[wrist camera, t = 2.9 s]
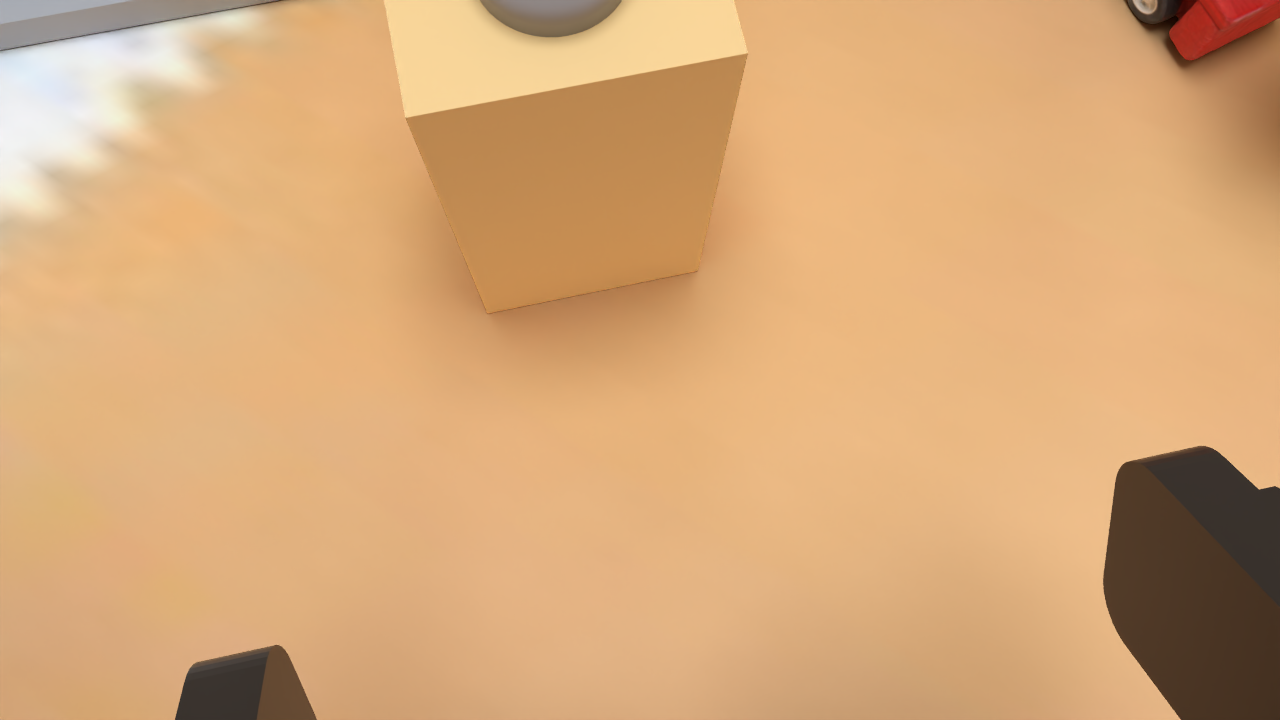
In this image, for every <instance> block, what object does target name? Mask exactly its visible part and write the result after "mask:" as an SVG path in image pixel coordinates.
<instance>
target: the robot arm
mask: <svg viewBox="0 0 1280 720" xmlns="http://www.w3.org/2000/svg"><path fill="white" fill-rule="evenodd" d="M1103 585H1104V594H1105V600H1106V604H1107V608H1108V611H1109V614H1110V617H1111V619H1112V622H1113V624H1114V626H1115V628H1116V631H1117V632H1118V634H1119V636H1120V638H1121V639H1122V641H1123V642H1124V644H1125V645H1126V647H1127V648H1128V649H1129V651H1130V652H1131V653H1132V655H1133V656H1134V657H1135V659H1136V660H1137V661H1138V663H1139V664H1140V665H1141V667H1142V668H1143V669H1144V671H1145V672H1146V673H1147V675H1148V676H1149V677H1150V679H1151V680H1152V681H1153V683H1154V684H1155V685H1156V687H1157V688H1158V689H1159V691H1160V692H1161V693H1162V695H1163V696H1164V698H1165V699H1166V700H1167V702H1168V703H1169V704H1170V706H1171V707H1172V708H1173V710H1174V711H1175V712H1176V714H1177V715H1178V716H1179V718H1180V719H1181V720H1280V488H1278V487H1276V486H1274V487H1269V488H1265V489H1260V490H1259V489H1258V488H1257V487H1255V486H1254V485H1253V484H1252V483H1251V482H1250V481H1249V480H1248V479H1247V478H1246V477H1245V476H1244V475H1243V474H1242V473H1241V472H1239V471H1238V470H1237V469H1236V468H1235V467H1234V466H1233V465H1232V464H1231V463H1230V462H1229V461H1228V460H1227V459H1226V458H1225V457H1223V456H1222V455H1221V454H1220V453H1219V452H1217V451H1216V450H1214V449H1212V448H1210V447H1206V446H1197V447H1193V448H1188V449H1184V450H1179V451H1175V452H1170V453H1165V454H1161V455H1156V456H1152V457H1147V458H1143V459H1138V460H1133V461H1129V462H1126V463H1124V464H1123V465H1122V466H1121V468H1120V469H1119V471H1118V473H1117V477H1116V482H1115V489H1114V497H1113V505H1112V513H1111V521H1110V529H1109V537H1108V545H1107V552H1106V560H1105V568H1104V578H1103ZM175 720H317V719H316V716H315V714H314V712H313V710H312V707H311V705H310V703H309V701H308V698H307V696H306V694H305V691H304V689H303V687H302V685H301V682H300V680H299V678H298V676H297V673H296V671H295V669H294V666H293V664H292V662H291V660H290V658H289V656H288V654H287V652H286V651H285V650H284V649H283V648H282V647H281V646H279V645H274V646H270V647H265V648H261V649H256V650H252V651H247V652H242V653H238V654H233V655H229V656H224V657H219V658H215V659H210V660H206V661H201V662H197V663H195V664H193V665H192V667H191V668H190V669H189V671H188V673H187V676H186V679H185V682H184V686H183V690H182V694H181V698H180V702H179V706H178V710H177V714H176V718H175Z"/></svg>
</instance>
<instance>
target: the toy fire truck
mask: <svg viewBox="0 0 1280 720" xmlns="http://www.w3.org/2000/svg"><path fill="white" fill-rule="evenodd" d="M1128 4H1129V7H1130V9H1131V10H1132V12H1133V13H1134V15H1135V16H1136V17H1137V18H1138V19H1139V20H1141V21H1143V22H1145V23H1149V24H1156V23H1160V22H1163V21H1165V20H1167V19H1169V18H1171V17H1173V16H1175V15H1177V17H1178V18H1179V20H1178V21H1177V22H1176V23H1175V24H1174V26H1173V27H1172V28H1171V29H1170V31H1169V35H1170V39H1171V40H1172V41H1173V43H1174V45H1175V46H1176V48H1177V50H1178V52H1179V53H1180V54H1181V55H1182V56H1183V57H1184V58H1185V59H1186V60H1195V59H1197V58H1199V57H1201V56H1203V55H1205V54H1207V53H1209V52H1211V51H1213V50H1216V49H1218V48H1220V47H1222V46H1224V45H1225V44H1227V43H1230V42H1231V41H1233V40H1235V39H1237V38H1239V37H1241V36H1243V35H1245V34H1248V33H1250V32H1252V31H1254V30H1256V29H1258V28H1260V27H1262V26H1264V25H1266V24H1268V23H1270V22H1272V21H1274V20H1276V19H1278V18H1280V0H1128Z"/></svg>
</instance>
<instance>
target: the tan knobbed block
mask: <svg viewBox="0 0 1280 720" xmlns="http://www.w3.org/2000/svg"><path fill="white" fill-rule="evenodd" d="M384 3H385V9H386V14H387V20H388V25H389V31H390V36H391V42H392V47H393V52H394V58H395V63H396V69H397V74H398V80H399V85H400V91H401V96H402V102H403V107H404V113H405V118H406V120H407V123H408V125H409V127H410V130H411V132H412V135H413V137H414V139H415V142H416V144H417V147H418V149H419V151H420V154H421V156H422V159H423V161H424V163H425V166H426V168H427V170H428V173H429V175H430V178H431V180H432V182H433V185H434V187H435V190H436V192H437V194H438V197H439V199H440V201H441V204H442V206H443V209H444V211H445V213H446V216H447V218H448V221H449V223H450V225H451V228H452V230H453V233H454V235H455V237H456V240H457V242H458V244H459V247H460V249H461V252H462V254H463V256H464V259H465V261H466V264H467V266H468V268H469V271H470V273H471V276H472V278H473V280H474V283H475V285H476V287H477V290H478V292H479V295H480V297H481V299H482V302H483V304H484V307H485V309H486V311H487V314H489V313H493V312H498V311H503V310H508V309H513V308H518V307H523V306H528V305H533V304H538V303H543V302H548V301H553V300H558V299H563V298H568V297H572V296H577V295H582V294H587V293H592V292H597V291H602V290H607V289H612V288H617V287H622V286H627V285H632V284H637V283H642V282H647V281H651V280H656V279H661V278H666V277H671V276H676V275H681V274H686V273H691V272H696V271H698V267H699V263H700V259H701V254H702V250H703V246H704V241H705V237H706V233H707V228H708V224H709V220H710V215H711V211H712V207H713V202H714V198H715V194H716V189H717V185H718V181H719V176H720V172H721V168H722V163H723V159H724V155H725V150H726V146H727V142H728V137H729V133H730V128H731V124H732V120H733V115H734V111H735V107H736V102H737V98H738V94H739V89H740V85H741V81H742V76H743V72H744V68H745V63H746V59H747V55H748V52H747V48H746V44H745V41H744V37H743V33H742V29H741V26H740V22H739V18H738V14H737V11H736V7H735V3H734V0H384Z"/></svg>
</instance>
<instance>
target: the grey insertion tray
mask: <svg viewBox="0 0 1280 720" xmlns="http://www.w3.org/2000/svg"><path fill="white" fill-rule="evenodd" d="M272 1H277V0H0V50H4V49H10V48H15V47H21V46H26V45H32V44H38V43H43V42H49V41H54V40H60V39H65V38H71V37H77V36H82V35H88V34H93V33H99V32H104V31H110V30H116V29H121V28H127V27H132V26H138V25H143V24H149V23H155V22H160V21H166V20H171V19H177V18H182V17H188V16H194V15H199V14H205V13H210V12H216V11H221V10H227V9H233V8H238V7H244V6H249V5H255V4H260V3H266V2H272Z"/></svg>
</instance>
